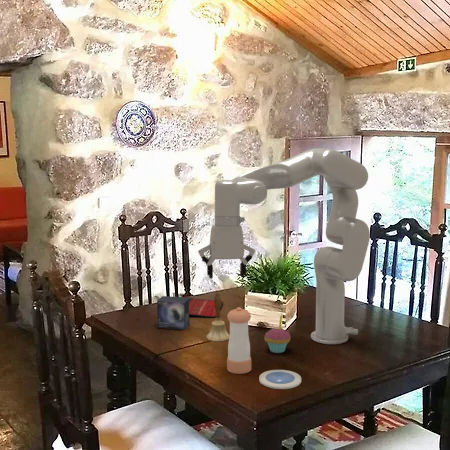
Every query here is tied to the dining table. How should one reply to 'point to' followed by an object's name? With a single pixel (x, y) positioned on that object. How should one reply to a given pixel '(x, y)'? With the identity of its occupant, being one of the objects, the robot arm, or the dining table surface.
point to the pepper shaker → (239, 342)
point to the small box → (173, 312)
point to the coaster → (280, 379)
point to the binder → (202, 308)
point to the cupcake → (277, 338)
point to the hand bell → (218, 323)
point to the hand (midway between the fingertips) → (226, 277)
